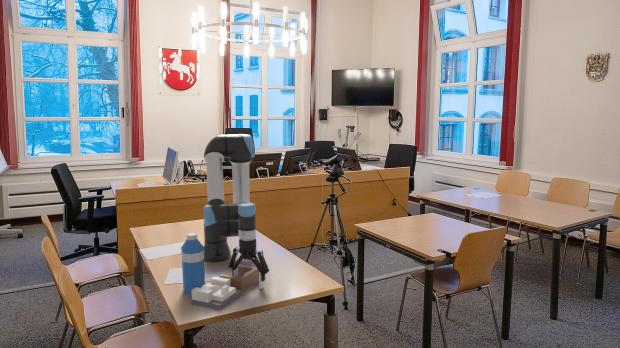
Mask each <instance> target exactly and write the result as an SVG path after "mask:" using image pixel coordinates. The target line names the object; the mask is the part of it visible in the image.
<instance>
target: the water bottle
mask: <svg viewBox="0 0 620 348" xmlns="http://www.w3.org/2000/svg"><path fill="white" fill-rule="evenodd" d="M180 251H181V267H182V269H181V270H182V271H181V272H182V285H183V286H182V289H183V292H184V294H185V295H191V296H192V289H194V288H196V287H198V288H201V287H202V286H203V285H204V284H206V274H205V260H204V244H202V243H201V242H200V240H199V239H198V234H197V233H196V232H191V233H190V232H189V233H188V234H186V240H185V241H184V242H183V245H182V246H181V248H180Z"/></svg>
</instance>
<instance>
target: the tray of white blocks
mask: <svg viewBox="0 0 620 348" xmlns="http://www.w3.org/2000/svg"><path fill="white" fill-rule="evenodd" d="M242 295H243V292H242V290H239V289H236V288H235V287H231V284H230V279H227V278H221V277H220V276H212V277H210V283H205V284H204V285H203V286H202V287H201V288H198V287H196V288H194V289H192V295H191V299H190V305H195V306H199V307H204V308H209V309H214V310H219V311H221V310H222V309H224V308H225V307H227V306H228V305H230V304H231V303H232V302H234V301H235V300H237V299H238V298H239V297H240V296H242Z"/></svg>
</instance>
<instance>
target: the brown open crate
mask: <svg viewBox="0 0 620 348" xmlns="http://www.w3.org/2000/svg"><path fill="white" fill-rule="evenodd" d="M236 269H238V273H239V277H235V276H232V275H230V274H228V275H227V274H223V273H222V274H220V275H219V277H221V278H227V279H230V284H231V287H235V288H236V289H239V290H242V293H244V292H245V291H247V290H248V289H249V288H251V287H252V286H254V285H255V284H256V283H259V274H260V272H259V270H258V269H257V267H256V266H249V265H243V264H239V265H238V267H237V268H236Z"/></svg>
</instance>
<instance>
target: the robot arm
mask: <svg viewBox="0 0 620 348" xmlns="http://www.w3.org/2000/svg"><path fill="white" fill-rule="evenodd" d="M255 152H256V151H255V145H254V140H253V137H252V135H251V134H246V133H245V134H244V133H238V134H235V133H234V134H233V133H232V134H219V135H216V136H215V137H213V138H212V139H210V141H209V142H208V143H207V145H206V147H205V149H204V152H203V160H204V163H206V186H207V187H206V189H207V204H206V205H204V206H203V235H204V236H203V238H204V240H203V241H204V242H203V243H204V244H203V247H204V261H206V262H220V261H221V262H222V261H225V260H229V259H230V260H229V263H228V266H227V268H228V269H231V273H232V275H231V276H235V277H239V273H238V269H236V268H237V267H238V265H241V263H242V261H243V260H248V261H251V262H252V263H253V264H254V267H257V269H258V270H259V281H258V284H259V285H258V289H259V290H261V289H263V288H264V287H265V281H266V274H268V273H269V272H270V269H269V266H268V264H267V262H266V259H265V257H264V250H262V249H261V250H257V226H256V224H257V223H256V221H257V220H256V219H257V217H256V213H257V210H256V204H255V203H254V202H250V201H251V199H250V198H251V197H250V192H251V191H250V164H251V162H252V161H253V158H254V157H256V155H255ZM225 159H228V162H229V163H231V169H232V171H231V172H232V173H231V174H232V203H229V204H228V203H225V188H224V187H225V186H224V169H223V162H224V161H225ZM232 237H238V238H239V239H238V246H236V247H234V248H232V249H233V250H232V252H231V249H230V246H229V243H228V238H232ZM238 254H240V255H239V257H238ZM237 257H238V258H237ZM236 259H237V260H236Z"/></svg>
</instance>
